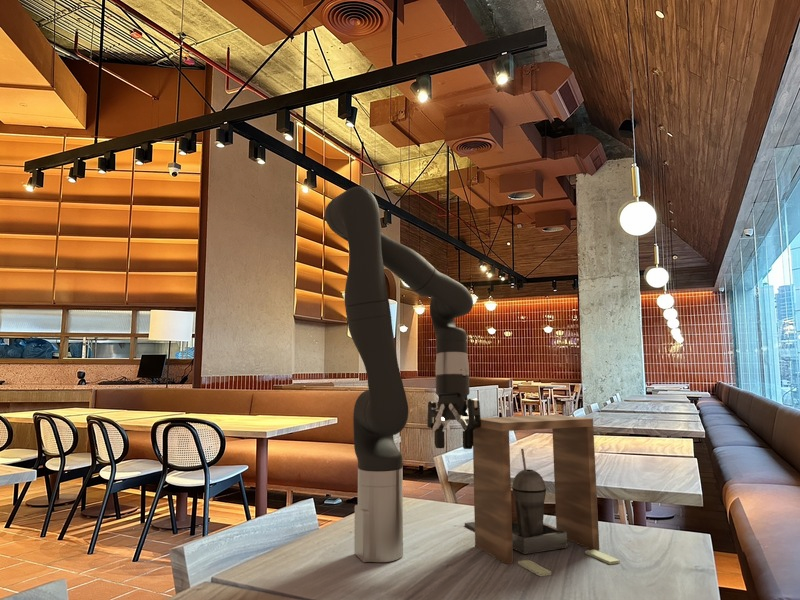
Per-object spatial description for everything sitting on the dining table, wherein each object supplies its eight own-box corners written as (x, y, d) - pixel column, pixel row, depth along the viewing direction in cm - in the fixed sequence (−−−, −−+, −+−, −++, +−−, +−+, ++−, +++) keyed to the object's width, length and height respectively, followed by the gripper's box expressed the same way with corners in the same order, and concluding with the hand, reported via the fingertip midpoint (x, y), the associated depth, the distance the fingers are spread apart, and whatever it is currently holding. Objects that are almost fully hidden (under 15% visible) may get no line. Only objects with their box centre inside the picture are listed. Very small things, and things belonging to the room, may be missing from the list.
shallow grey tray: (524, 554, 111) (522, 502, 112) (491, 536, 123) (490, 490, 124) (567, 547, 115) (565, 497, 116) (531, 531, 126) (530, 486, 128)
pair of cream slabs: (540, 576, 100) (540, 573, 100) (518, 564, 106) (518, 561, 106) (619, 562, 106) (619, 560, 106) (594, 552, 113) (594, 549, 113)
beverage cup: (552, 550, 114) (548, 451, 117) (517, 550, 114) (513, 451, 117) (544, 539, 121) (540, 446, 124) (510, 539, 121) (508, 446, 124)
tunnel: (506, 563, 106) (501, 423, 110) (475, 545, 117) (472, 418, 121) (599, 549, 115) (592, 418, 118) (562, 533, 126) (557, 414, 129)
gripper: (418, 375, 127) (419, 448, 123) (463, 369, 117) (465, 449, 113) (442, 378, 132) (443, 448, 128) (487, 372, 121) (489, 449, 117)
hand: (453, 448), depth 120 cm, fingers open, 8 cm apart
